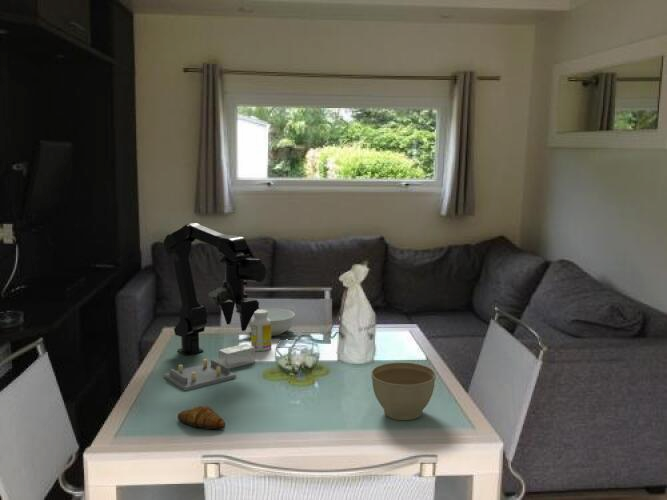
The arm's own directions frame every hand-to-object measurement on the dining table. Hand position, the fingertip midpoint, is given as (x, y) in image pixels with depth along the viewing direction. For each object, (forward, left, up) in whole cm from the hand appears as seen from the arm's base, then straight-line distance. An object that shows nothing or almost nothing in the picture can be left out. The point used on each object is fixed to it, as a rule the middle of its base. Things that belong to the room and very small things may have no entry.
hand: (235, 327), depth 202 cm
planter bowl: (+60, +13, -12) cm, 63 cm away
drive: (0, 0, -12) cm, 12 cm away
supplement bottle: (-8, +14, -12) cm, 20 cm away
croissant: (+34, -30, -12) cm, 47 cm away
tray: (+4, -15, -12) cm, 19 cm away
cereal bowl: (-22, +27, -12) cm, 37 cm away
